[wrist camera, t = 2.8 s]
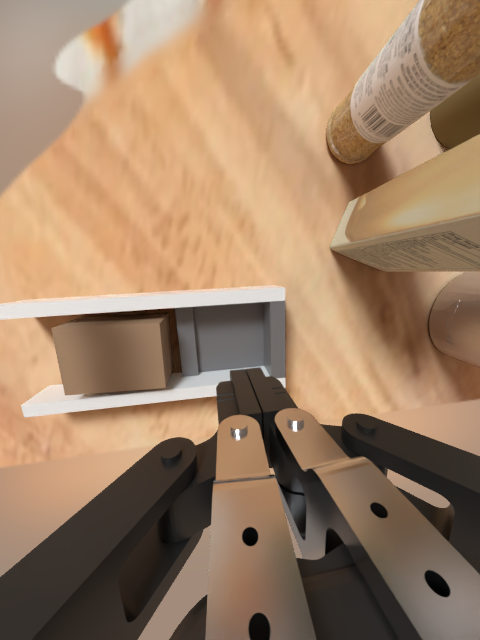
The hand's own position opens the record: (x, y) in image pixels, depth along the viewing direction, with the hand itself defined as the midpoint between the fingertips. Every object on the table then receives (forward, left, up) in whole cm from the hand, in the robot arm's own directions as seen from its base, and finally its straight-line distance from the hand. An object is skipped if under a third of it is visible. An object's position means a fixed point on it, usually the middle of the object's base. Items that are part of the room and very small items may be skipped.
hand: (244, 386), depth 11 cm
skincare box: (-13, -8, -10) cm, 18 cm away
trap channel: (+6, 0, -10) cm, 11 cm away
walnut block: (+9, 0, -10) cm, 13 cm away
